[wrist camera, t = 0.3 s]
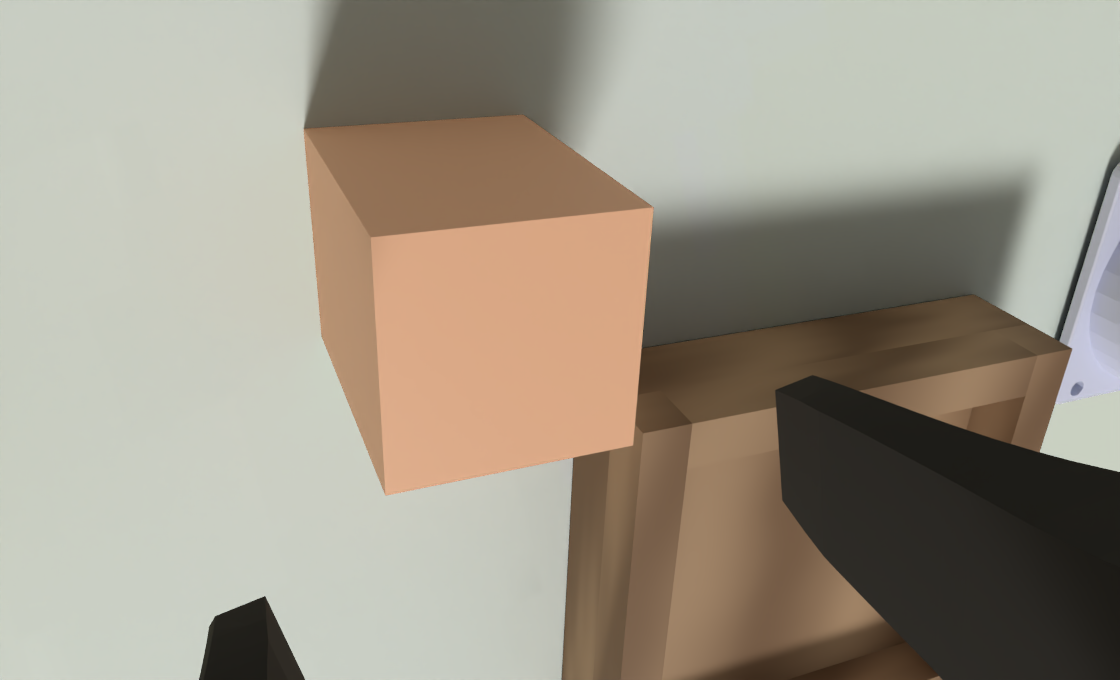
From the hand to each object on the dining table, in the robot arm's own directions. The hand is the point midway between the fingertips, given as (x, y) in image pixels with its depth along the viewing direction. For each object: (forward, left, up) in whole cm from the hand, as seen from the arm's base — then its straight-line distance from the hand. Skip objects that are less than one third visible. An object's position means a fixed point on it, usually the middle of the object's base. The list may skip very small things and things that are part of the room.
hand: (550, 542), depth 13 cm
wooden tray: (-11, +9, -9) cm, 17 cm away
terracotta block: (-1, -1, -10) cm, 10 cm away
